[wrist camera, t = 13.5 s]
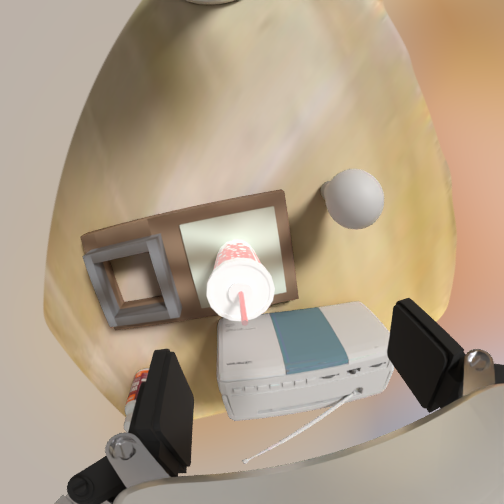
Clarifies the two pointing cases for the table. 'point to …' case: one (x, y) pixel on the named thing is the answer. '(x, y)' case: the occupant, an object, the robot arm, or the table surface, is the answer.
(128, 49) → the table surface
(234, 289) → the beverage cup
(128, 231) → the socket board
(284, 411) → the stereo radio cassette player
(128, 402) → the pill bottle
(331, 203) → the lightbulb
